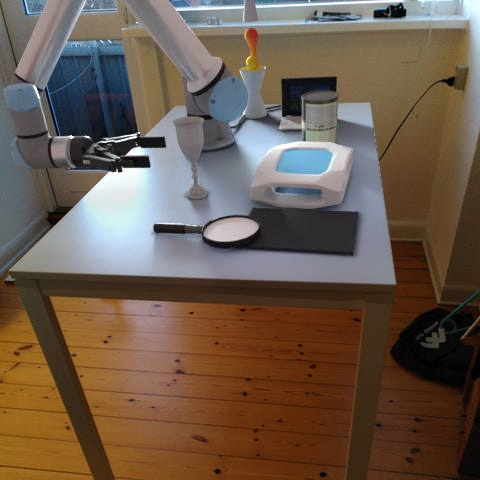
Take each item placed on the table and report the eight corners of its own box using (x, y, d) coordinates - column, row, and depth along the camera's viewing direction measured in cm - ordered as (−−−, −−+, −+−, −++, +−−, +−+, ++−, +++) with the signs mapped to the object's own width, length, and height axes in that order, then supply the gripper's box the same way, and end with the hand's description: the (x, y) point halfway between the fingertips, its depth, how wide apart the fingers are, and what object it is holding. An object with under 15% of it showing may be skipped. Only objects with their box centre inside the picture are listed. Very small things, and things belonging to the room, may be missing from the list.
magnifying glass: (167, 219, 119) (165, 210, 117) (267, 223, 111) (266, 214, 110) (144, 245, 109) (141, 236, 108) (251, 251, 102) (250, 242, 101)
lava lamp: (244, 111, 185) (237, -3, 164) (269, 110, 183) (265, -5, 162) (240, 118, 178) (232, 0, 157) (266, 118, 176) (261, -1, 155)
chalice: (215, 189, 130) (207, 116, 120) (206, 201, 125) (198, 125, 114) (188, 188, 132) (178, 116, 121) (178, 199, 127) (167, 125, 116)
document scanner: (352, 165, 137) (354, 141, 133) (339, 211, 116) (341, 184, 112) (275, 162, 142) (274, 140, 139) (249, 206, 121) (248, 180, 117)
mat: (253, 210, 119) (252, 207, 119) (358, 214, 114) (358, 211, 113) (234, 248, 106) (234, 245, 105) (353, 255, 100) (353, 252, 100)
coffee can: (294, 145, 153) (293, 95, 144) (320, 137, 157) (322, 88, 148) (316, 154, 145) (317, 102, 137) (344, 145, 150) (346, 94, 141)
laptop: (278, 131, 164) (277, 87, 156) (281, 119, 174) (280, 78, 166) (335, 129, 161) (337, 85, 154) (335, 118, 171) (337, 75, 163)
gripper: (97, 150, 139) (173, 149, 135) (57, 187, 119) (144, 187, 116) (90, 121, 134) (168, 119, 131) (48, 155, 115) (138, 154, 111)
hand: (157, 151), depth 123 cm, fingers open, 13 cm apart
